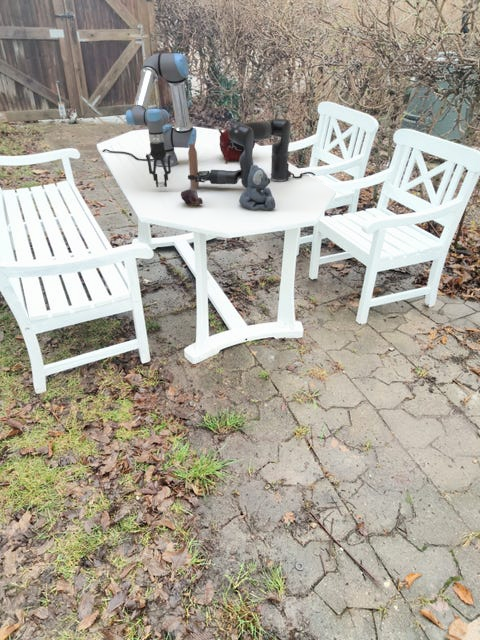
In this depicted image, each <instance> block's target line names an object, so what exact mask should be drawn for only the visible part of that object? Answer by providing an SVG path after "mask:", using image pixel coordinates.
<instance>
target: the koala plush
mask: <svg viewBox="0 0 480 640" xmlns="http://www.w3.org/2000/svg"><path fill="white" fill-rule="evenodd" d="M270 183H271V178H269V176H268V175H267V173H266V172H265V170H264V169H263V168H261V167H259V165H257V164H253V165H252V166H251V170H250V173H249V175H248V187H247V188H245V190H244V191H243V192H242V193H241V194H240V197H239V199H238V203H239V204H240V206H241V207H242V208H246V209H247V210H252V211H255V210H261V211H272V210H274V209H275V208H276V200H275V198H274V196H273V194H272V191H271V188H270V187H268V186H269V185H270Z"/></svg>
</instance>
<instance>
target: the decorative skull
mask: <svg viewBox="0 0 480 640" xmlns="http://www.w3.org/2000/svg"><path fill="white" fill-rule="evenodd" d="M228 131H229V128H227V129H226V130H224V131H222V130H221V128H218V133H219V134H220V135H219V149H220V152H221V154H222V157H223V158H224V159H225V164H227V163H228V160H229V161H239V159H240V156H241V154H242V153H243V152H244V147H243V146H242V145H239V144H237V143H234V142H233V141H231V140H230V139H229V137H228ZM255 145H256V140H253V149H254V148H255Z"/></svg>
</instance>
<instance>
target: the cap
mask: <svg viewBox="0 0 480 640" xmlns="http://www.w3.org/2000/svg"><path fill="white" fill-rule="evenodd" d="M157 188H166V187H165V181H158V187H157Z"/></svg>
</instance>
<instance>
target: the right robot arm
mask: <svg viewBox="0 0 480 640" xmlns="http://www.w3.org/2000/svg"><path fill="white" fill-rule="evenodd" d="M228 129H229V131H228V137H229V139H230V140H231V141H233V142H234V143H237V144H239V145H242V146H243V147H244V152H243V153H242V154H241V156H240V159H239V160H238V162H239V168H240V169H237V170H223V169H210V170H198V175H190V174H188V175H187V180H189V181H190V180H195V181H196V182H199V183H204V184H205V183H206V182H208V181H209V182H210V184H211V185H237V184H238V183H239V181H240V180H241V181H240V182H241V185H242V186H243V188H245V189H247V187H248V175H249V173H250V170H251V166H252V165H254V160H253V151H254V148H253V140H255V141H264V140H267V139H268V138H270V136H272V137H277V138H280V140H279V141H277V142H273V143H272V145H271V162H270V163H271V164H270V165H271V167H270V181H273V182H277V183H281V182H282V183H283V182H286V181H288V180H289V178H291V176H292V178H294V179H301V178H303V175H312V176H314V177H315V176H316V174H315V173H314V172H313V171H306V172H301V173H300V174H299V176H295V174H294V173H293V172H291V171H290V170H289V165H290V164H289V163H288V161H289V158H288V157H289V146H290V137H291V120H289V119H286V118H277V117H276V118H272V119H270V120H257V121H251V122H240V121H236V122H234V123H233V124H232V125H230V126H229V128H228ZM197 178H198V179H197Z"/></svg>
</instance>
